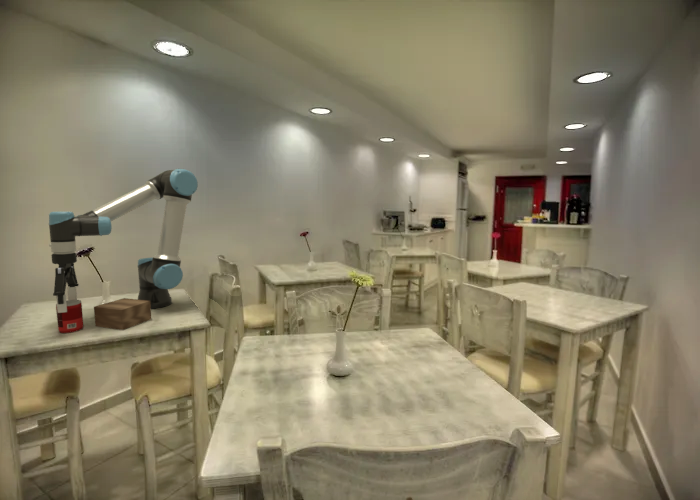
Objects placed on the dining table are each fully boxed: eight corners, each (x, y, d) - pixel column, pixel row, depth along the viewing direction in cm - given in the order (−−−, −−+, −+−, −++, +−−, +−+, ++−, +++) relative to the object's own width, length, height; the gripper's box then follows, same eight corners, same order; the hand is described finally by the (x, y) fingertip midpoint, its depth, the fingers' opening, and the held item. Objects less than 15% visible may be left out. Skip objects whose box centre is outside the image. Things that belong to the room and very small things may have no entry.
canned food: (88, 326, 150) (86, 299, 149) (71, 333, 143) (69, 305, 141) (70, 326, 151) (68, 299, 150) (53, 333, 143) (50, 304, 142)
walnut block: (125, 316, 164) (124, 298, 163) (151, 319, 160) (150, 300, 159) (95, 326, 151) (93, 306, 150) (122, 330, 147) (121, 310, 146)
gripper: (62, 249, 153) (65, 300, 155) (39, 257, 130) (44, 317, 132) (84, 248, 156) (87, 299, 158) (66, 256, 133) (70, 315, 135)
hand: (67, 307), depth 145 cm, fingers open, 13 cm apart
